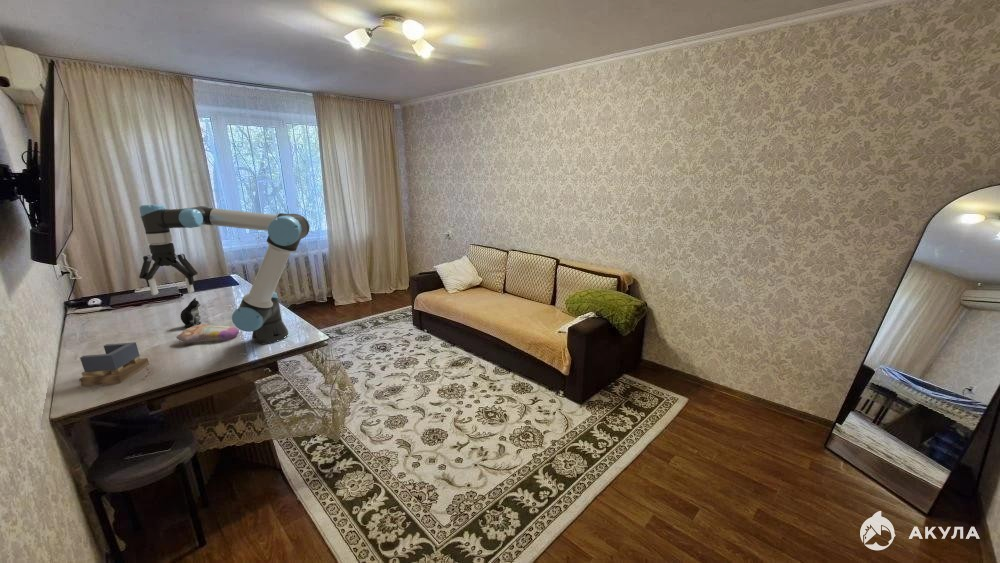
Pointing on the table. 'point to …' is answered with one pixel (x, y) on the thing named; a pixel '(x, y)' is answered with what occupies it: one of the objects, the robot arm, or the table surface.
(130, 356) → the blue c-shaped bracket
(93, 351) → the table surface
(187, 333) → the sculpture
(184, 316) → the figurine
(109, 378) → the stand
